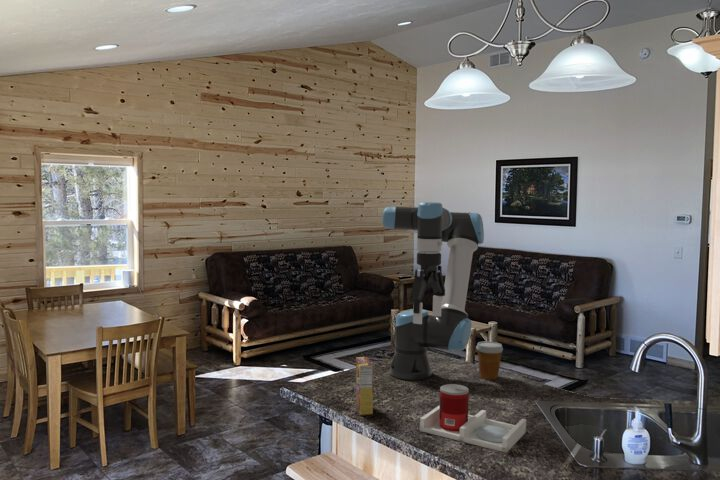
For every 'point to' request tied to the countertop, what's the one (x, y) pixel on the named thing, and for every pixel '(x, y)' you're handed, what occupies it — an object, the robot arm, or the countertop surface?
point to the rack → (474, 430)
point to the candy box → (364, 385)
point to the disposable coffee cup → (489, 359)
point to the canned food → (453, 406)
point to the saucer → (491, 433)
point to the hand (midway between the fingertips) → (427, 319)
